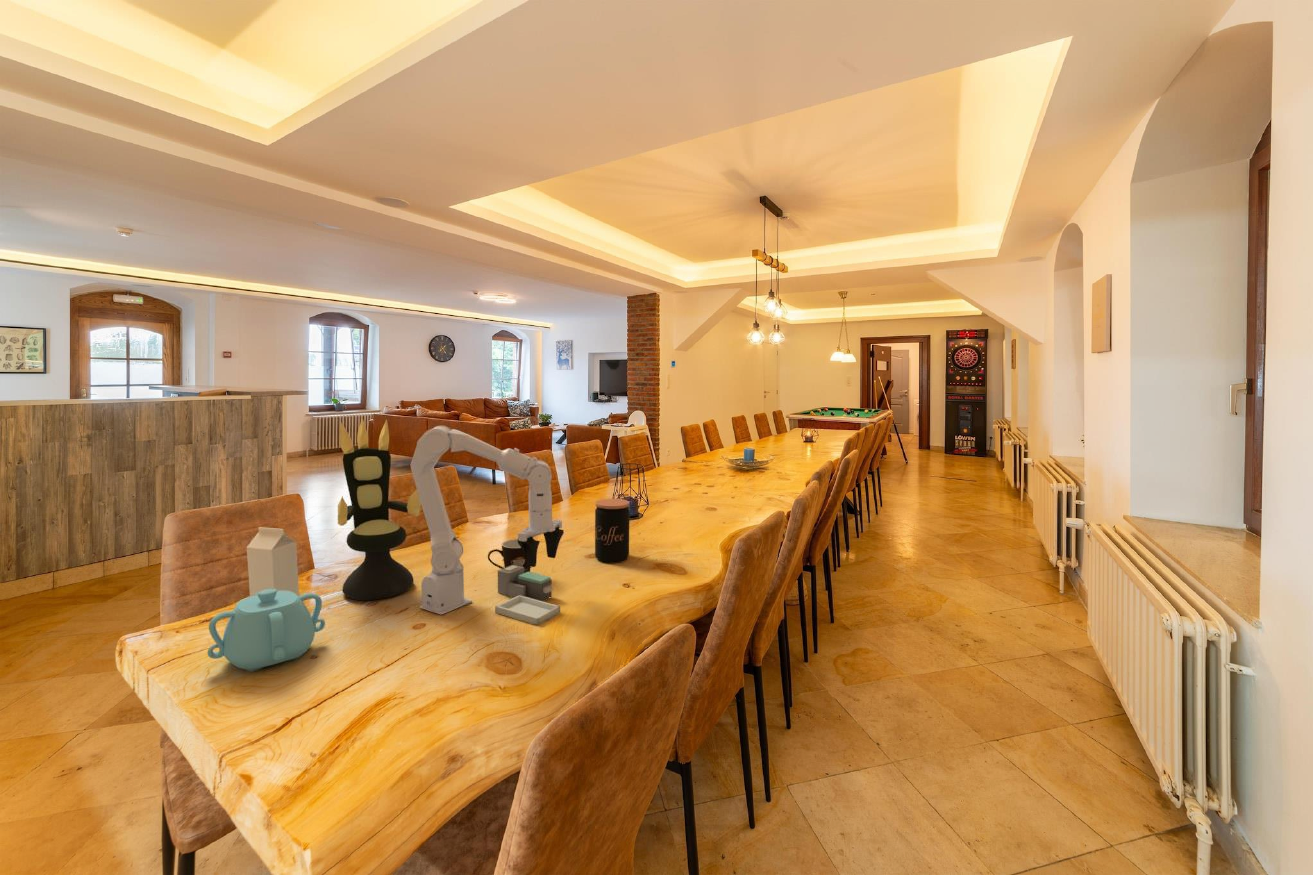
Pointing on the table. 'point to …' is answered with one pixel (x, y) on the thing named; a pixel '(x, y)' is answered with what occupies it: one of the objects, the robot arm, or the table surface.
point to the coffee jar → (612, 530)
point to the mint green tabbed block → (536, 585)
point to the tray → (527, 609)
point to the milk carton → (272, 562)
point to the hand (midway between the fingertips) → (541, 561)
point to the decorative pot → (266, 629)
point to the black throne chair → (373, 518)
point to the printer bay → (510, 581)
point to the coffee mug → (511, 555)
